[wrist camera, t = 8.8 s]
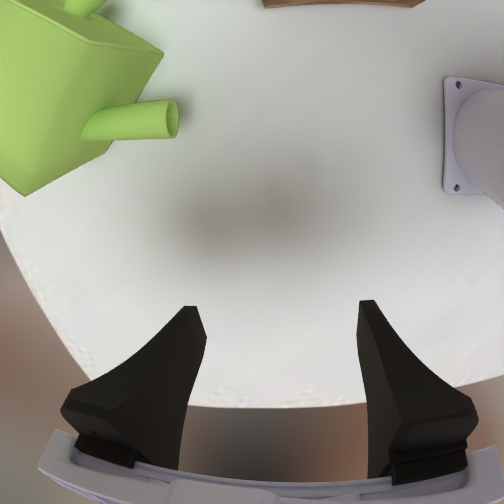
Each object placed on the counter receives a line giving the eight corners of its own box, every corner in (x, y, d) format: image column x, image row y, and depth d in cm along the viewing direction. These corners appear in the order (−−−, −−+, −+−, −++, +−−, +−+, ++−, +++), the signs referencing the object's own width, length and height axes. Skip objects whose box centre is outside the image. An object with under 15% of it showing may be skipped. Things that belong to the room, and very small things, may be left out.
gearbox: (239, 73, 17) (203, 62, 9) (154, 187, 21) (84, 253, 13) (60, -27, 13) (-25, -45, 4) (6, 75, 17) (-79, 95, 9)
